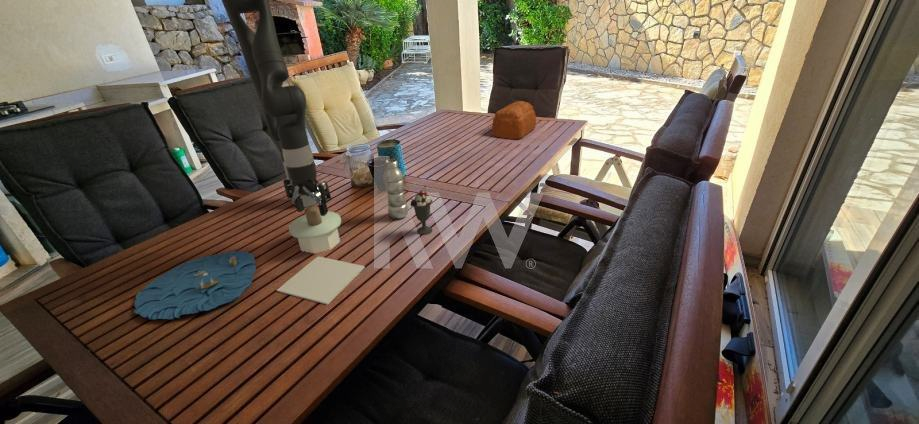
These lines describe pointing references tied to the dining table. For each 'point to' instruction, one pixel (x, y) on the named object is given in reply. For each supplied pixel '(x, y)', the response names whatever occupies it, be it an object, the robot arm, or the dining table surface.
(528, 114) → the bread
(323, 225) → the lid
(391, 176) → the plastic bottle
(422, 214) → the sundae
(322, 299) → the mat
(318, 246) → the bowl
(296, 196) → the robot arm
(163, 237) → the dining table surface
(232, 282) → the decorative plate
